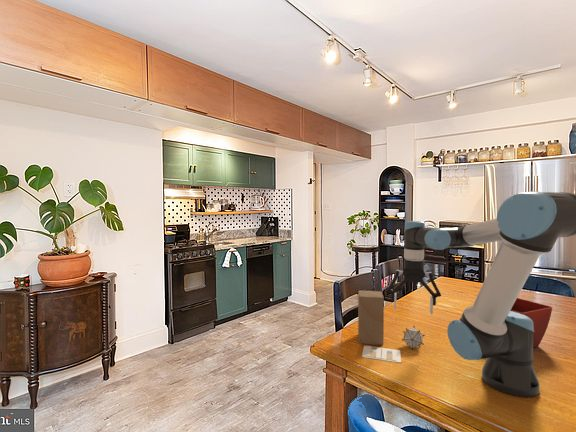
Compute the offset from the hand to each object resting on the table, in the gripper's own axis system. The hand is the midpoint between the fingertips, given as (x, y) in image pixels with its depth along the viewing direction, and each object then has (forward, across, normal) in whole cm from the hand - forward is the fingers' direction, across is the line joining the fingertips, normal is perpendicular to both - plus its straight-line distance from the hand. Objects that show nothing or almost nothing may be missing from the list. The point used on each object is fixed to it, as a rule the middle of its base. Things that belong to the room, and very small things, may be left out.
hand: (412, 311), depth 127 cm
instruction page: (+15, +12, +10) cm, 22 cm away
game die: (+15, 0, 0) cm, 15 cm away
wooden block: (+15, +17, -2) cm, 23 cm away
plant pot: (+15, -40, -18) cm, 46 cm away
